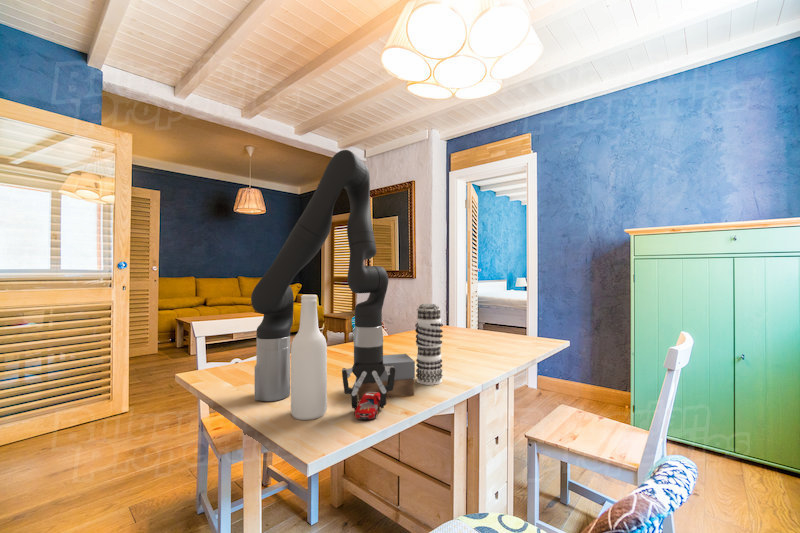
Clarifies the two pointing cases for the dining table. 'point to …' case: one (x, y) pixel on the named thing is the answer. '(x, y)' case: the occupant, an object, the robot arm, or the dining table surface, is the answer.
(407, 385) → the bottom block
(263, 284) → the robot arm
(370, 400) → the race car
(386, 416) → the dining table surface
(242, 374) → the dining table surface
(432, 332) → the decorative candle
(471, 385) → the dining table surface
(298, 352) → the white bottle
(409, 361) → the top block
